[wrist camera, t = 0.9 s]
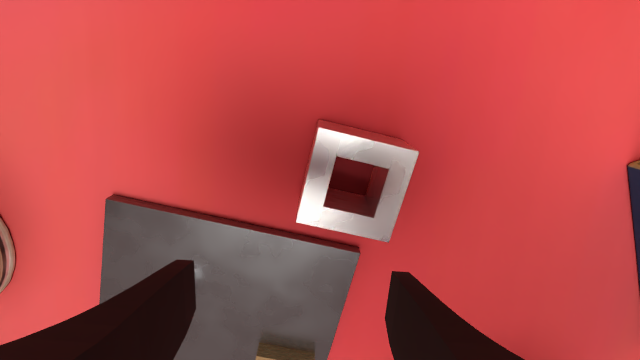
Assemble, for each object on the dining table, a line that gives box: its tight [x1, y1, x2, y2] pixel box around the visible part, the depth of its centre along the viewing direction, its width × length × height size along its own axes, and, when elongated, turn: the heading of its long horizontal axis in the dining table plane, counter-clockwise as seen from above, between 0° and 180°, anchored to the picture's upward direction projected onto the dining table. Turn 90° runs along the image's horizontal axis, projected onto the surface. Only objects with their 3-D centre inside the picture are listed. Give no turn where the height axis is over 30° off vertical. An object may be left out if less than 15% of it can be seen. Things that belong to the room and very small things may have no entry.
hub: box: [296, 119, 419, 242], centre depth 19 cm, size 5×5×4 cm
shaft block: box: [100, 195, 360, 360], centre depth 22 cm, size 16×12×4 cm
